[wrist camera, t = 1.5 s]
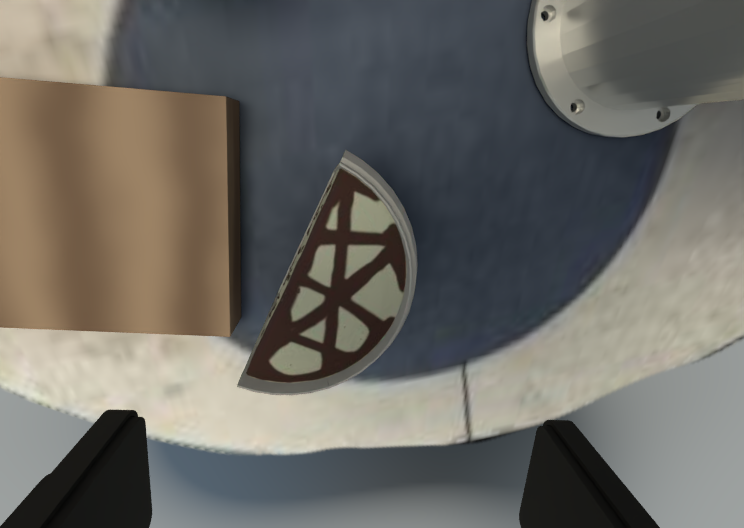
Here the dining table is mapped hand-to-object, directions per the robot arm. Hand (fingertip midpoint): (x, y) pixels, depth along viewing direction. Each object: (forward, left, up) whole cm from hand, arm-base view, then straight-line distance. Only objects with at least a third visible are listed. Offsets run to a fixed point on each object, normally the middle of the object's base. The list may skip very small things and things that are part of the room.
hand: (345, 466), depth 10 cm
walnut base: (+15, -2, -19) cm, 24 cm away
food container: (0, 0, -20) cm, 20 cm away
